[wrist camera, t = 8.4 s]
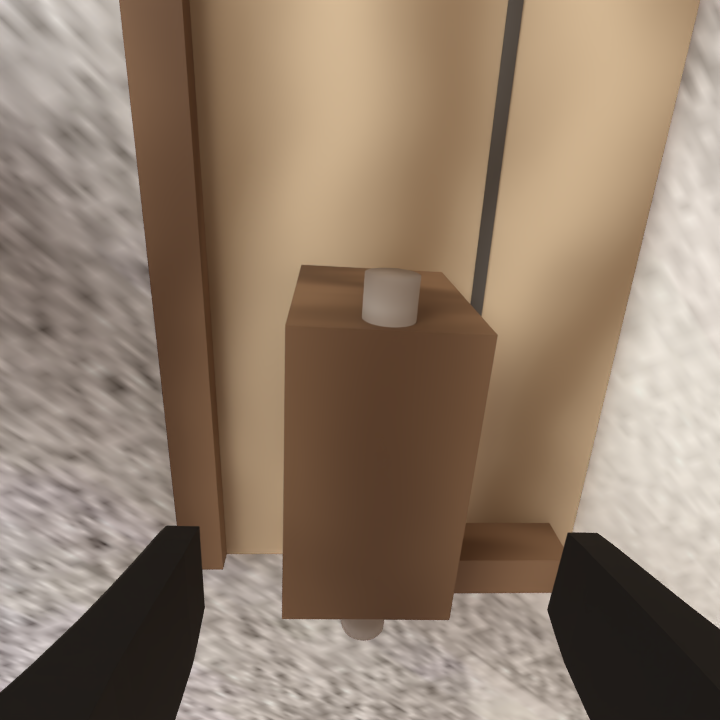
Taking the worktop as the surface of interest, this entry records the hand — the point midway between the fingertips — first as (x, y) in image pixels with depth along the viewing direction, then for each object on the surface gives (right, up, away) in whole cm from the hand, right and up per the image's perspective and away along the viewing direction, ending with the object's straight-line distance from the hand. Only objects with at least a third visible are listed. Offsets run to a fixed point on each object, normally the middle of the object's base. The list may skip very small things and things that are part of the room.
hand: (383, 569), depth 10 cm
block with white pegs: (0, +3, +8) cm, 8 cm away
